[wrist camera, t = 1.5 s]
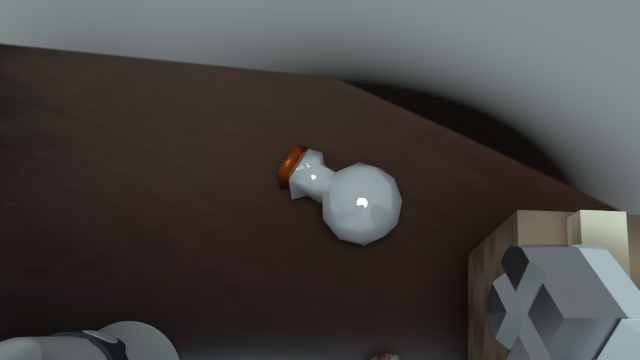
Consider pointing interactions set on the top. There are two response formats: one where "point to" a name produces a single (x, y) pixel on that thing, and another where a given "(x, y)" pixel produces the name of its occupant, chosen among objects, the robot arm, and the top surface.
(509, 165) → the top surface
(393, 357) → the mineral rock
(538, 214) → the walnut block
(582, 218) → the birch bar
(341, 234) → the potion bottle
